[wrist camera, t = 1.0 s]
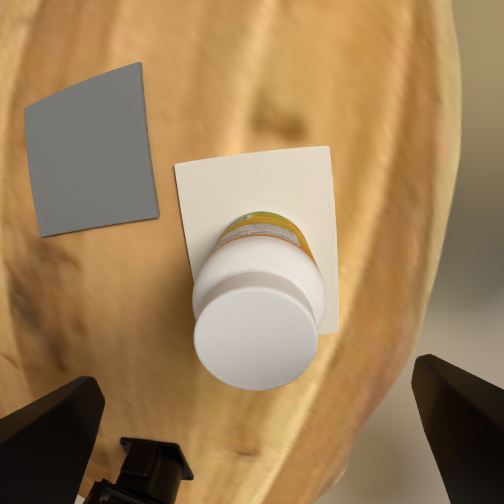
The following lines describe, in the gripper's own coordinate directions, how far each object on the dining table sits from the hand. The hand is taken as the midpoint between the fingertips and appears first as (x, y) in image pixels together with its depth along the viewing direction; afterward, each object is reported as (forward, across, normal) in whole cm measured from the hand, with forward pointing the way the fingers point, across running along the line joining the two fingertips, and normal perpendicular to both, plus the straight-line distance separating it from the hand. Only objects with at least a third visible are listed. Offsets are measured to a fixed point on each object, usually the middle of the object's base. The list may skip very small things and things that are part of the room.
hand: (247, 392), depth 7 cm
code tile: (+12, 0, 0) cm, 12 cm away
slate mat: (+12, +11, -8) cm, 18 cm away
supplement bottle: (+12, 0, 0) cm, 12 cm away
